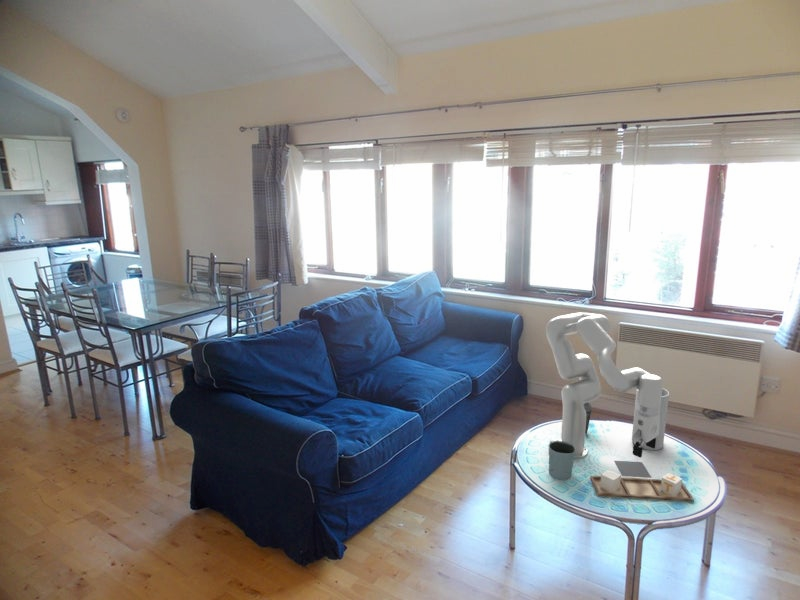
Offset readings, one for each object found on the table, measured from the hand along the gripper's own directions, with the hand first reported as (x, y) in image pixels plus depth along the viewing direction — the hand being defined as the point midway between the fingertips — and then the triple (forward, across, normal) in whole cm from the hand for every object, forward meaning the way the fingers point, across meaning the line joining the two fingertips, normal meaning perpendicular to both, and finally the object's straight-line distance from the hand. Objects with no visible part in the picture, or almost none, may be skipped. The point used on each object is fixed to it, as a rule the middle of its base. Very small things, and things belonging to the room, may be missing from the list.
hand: (643, 451), depth 183 cm
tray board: (+16, 0, 0) cm, 16 cm away
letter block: (+16, +8, -8) cm, 19 cm away
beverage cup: (+16, +23, +39) cm, 48 cm away
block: (+16, -8, +8) cm, 19 cm away
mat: (+16, +11, +9) cm, 22 cm away
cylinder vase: (+16, +36, +15) cm, 42 cm away
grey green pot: (+16, -14, +25) cm, 33 cm away
